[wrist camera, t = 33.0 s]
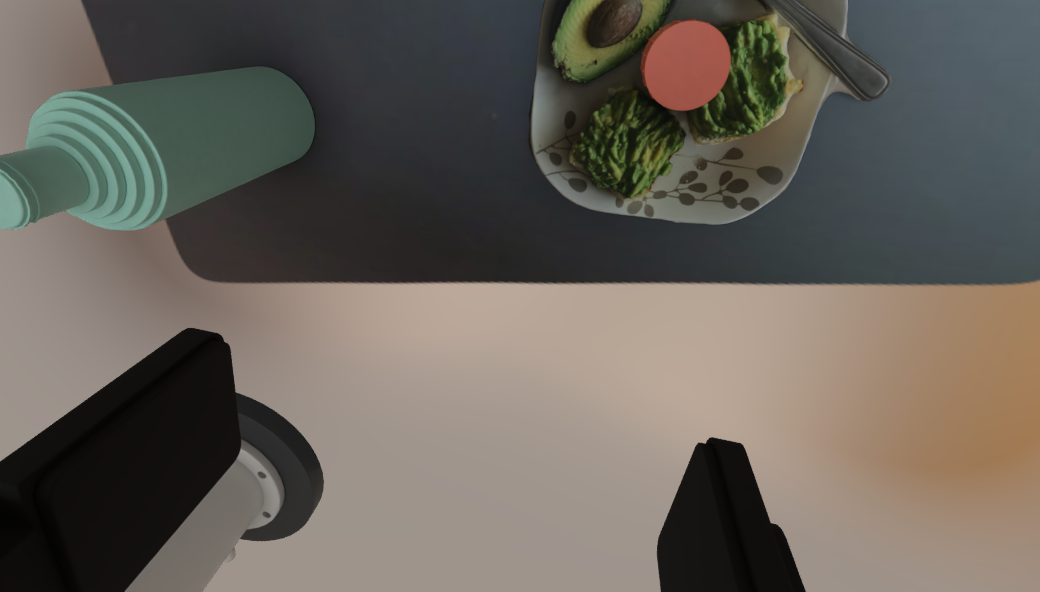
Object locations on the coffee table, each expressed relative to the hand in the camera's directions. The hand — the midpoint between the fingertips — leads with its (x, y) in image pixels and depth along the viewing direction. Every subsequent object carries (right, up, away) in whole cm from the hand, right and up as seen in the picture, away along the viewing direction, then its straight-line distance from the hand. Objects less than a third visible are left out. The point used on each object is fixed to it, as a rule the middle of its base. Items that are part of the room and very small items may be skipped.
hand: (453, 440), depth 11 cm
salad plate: (+10, +16, +21) cm, 29 cm away
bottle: (-16, +15, +26) cm, 34 cm away
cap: (+10, +15, +17) cm, 25 cm away
